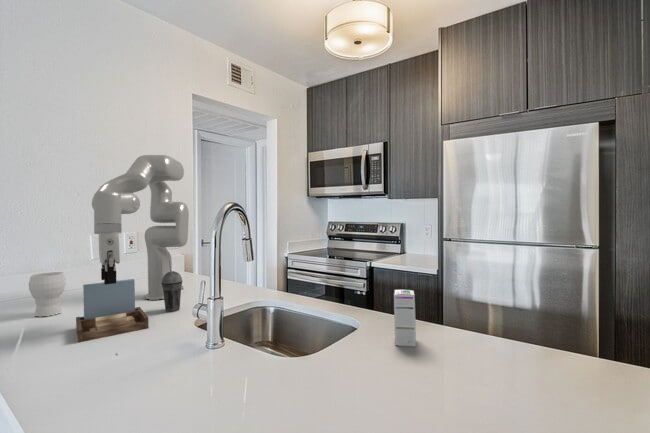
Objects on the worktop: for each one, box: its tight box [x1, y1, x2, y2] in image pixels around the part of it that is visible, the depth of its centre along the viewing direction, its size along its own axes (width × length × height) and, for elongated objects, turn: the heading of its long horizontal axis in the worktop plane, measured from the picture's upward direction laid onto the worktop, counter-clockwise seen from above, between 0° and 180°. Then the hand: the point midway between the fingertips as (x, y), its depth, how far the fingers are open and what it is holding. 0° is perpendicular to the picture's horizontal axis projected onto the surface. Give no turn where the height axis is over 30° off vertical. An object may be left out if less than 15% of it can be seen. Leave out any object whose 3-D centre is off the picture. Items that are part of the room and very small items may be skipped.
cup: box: [28, 271, 66, 317], centre depth 126 cm, size 11×11×15 cm
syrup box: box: [393, 289, 417, 348], centre depth 95 cm, size 6×6×14 cm
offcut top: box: [96, 313, 127, 326], centre depth 104 cm, size 8×4×2 cm, turn 124°
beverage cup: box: [161, 259, 183, 313], centre depth 125 cm, size 7×7×20 cm
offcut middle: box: [95, 316, 135, 331], centre depth 105 cm, size 10×4×2 cm, turn 131°
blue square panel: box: [82, 278, 136, 320], centre depth 110 cm, size 14×2×14 cm, turn 128°
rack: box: [75, 306, 150, 343], centre depth 107 cm, size 18×15×4 cm
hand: (108, 281), depth 110 cm, fingers open, 9 cm apart
